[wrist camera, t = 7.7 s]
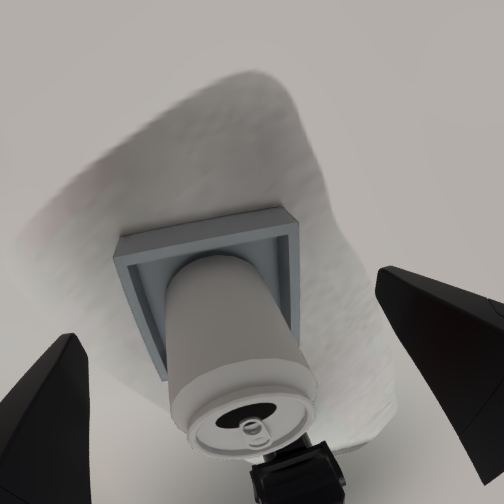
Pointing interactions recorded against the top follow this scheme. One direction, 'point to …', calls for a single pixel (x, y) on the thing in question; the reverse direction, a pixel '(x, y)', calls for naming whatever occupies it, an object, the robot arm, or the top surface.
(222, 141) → the top surface
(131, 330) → the top surface
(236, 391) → the can
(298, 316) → the bin
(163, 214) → the top surface
